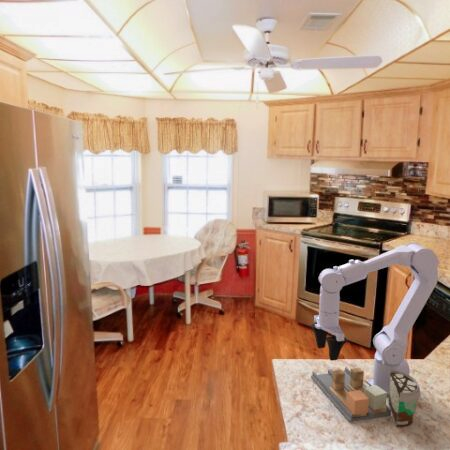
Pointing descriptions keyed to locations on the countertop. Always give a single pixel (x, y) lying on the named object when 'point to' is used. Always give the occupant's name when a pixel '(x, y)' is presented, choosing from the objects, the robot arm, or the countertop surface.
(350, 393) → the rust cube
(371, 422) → the countertop surface
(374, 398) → the sage block
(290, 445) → the countertop surface
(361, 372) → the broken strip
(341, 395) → the oak strip
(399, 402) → the food container
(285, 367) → the countertop surface
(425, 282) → the robot arm
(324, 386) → the lane board
